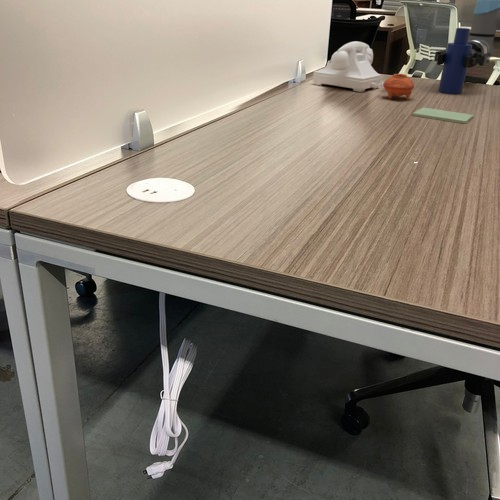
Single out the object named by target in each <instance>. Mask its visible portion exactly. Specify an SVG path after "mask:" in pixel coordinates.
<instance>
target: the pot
mask: <svg viewBox="0 0 500 500" xmlns="http://www.w3.org/2000/svg"><path fill="white" fill-rule="evenodd" d="M382 84H383V83H382ZM383 86H384V88H385V89H384V90H385V91H386V92H387V96H388V99H389V100H392V97H401V96H405V97H406V100H409V99H410V97H411V94H412V91H413V89H414V88H415V84H414V82H413V80H412V79H410V77H408V75H407V74H404V73H394V74H392V76H390V77H389V78H387V79H386V80H385V81H384V84H383Z"/></svg>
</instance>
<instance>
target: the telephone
mask: <svg viewBox="0 0 500 500" xmlns="http://www.w3.org/2000/svg"><path fill="white" fill-rule="evenodd" d="M373 61H374V51H373V49H372V48H370V45H369V44H368V43H365V42H363V41H357V40H355V41H349V42H347V43H345V44H343V45H342V46H341V47H339V48H338V49H337V50H336V51H335V52H334V53H333V54H332V55H331V58H330V60H328V61H327V63H326V66H324V67H322V68H321V69H318V70H313V74H312V82H313V84H314V85H316V86H322V85H329V86H336V87H342V88H348V89H352V91H354V92H357V93H358V92H359V93H363V92H365V91H366V89H373V90H375V89H378V88H380V89H382V90H385V88H384V86H383V84H384V82H385V81H384V82H383V81H381V80H382V74H380V73H378V72H377V71H376V70H375V68H374V67H373V66H372V64H373Z"/></svg>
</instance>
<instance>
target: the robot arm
mask: <svg viewBox="0 0 500 500" xmlns="http://www.w3.org/2000/svg"><path fill="white" fill-rule="evenodd" d="M496 32H500V0H477V1H476V3H475V6H474V10H473V16H472V21H471V26H470V31H469V36H468V40H467V44H471V45H472V49H471V54H470V55H469V56H467V57H465V61H464V65H463V68H466V67H467V69H471V68H473V67H475V66H477V65H478V66H480V67H483V66H485V65H486V64H489V63H490V61H491V57H492V55H493V53H494V40H495V36H496ZM446 49H447V48H445V49H443V50H437V51H435V54H434V59H433V61H434V62H436V65H437V66H441V65H443V64H444V59H445V54H446Z"/></svg>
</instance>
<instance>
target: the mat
mask: <svg viewBox="0 0 500 500" xmlns="http://www.w3.org/2000/svg"><path fill="white" fill-rule="evenodd" d="M411 116H412V117H418V118H424V119H425V118H426V119H432V120H438V121H444V122H452V123H456V124H457V123H458V124H463V125H465V124H467V123H468V122H469V121H470V120H472V119H473V118H474V116H475V115H474V114H470V113H462V112H456V111H449V110H443V109H436V108H431V107H430V108H428V107H421V108H419V109H417V110H415V111H413V112H412V114H411Z"/></svg>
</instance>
